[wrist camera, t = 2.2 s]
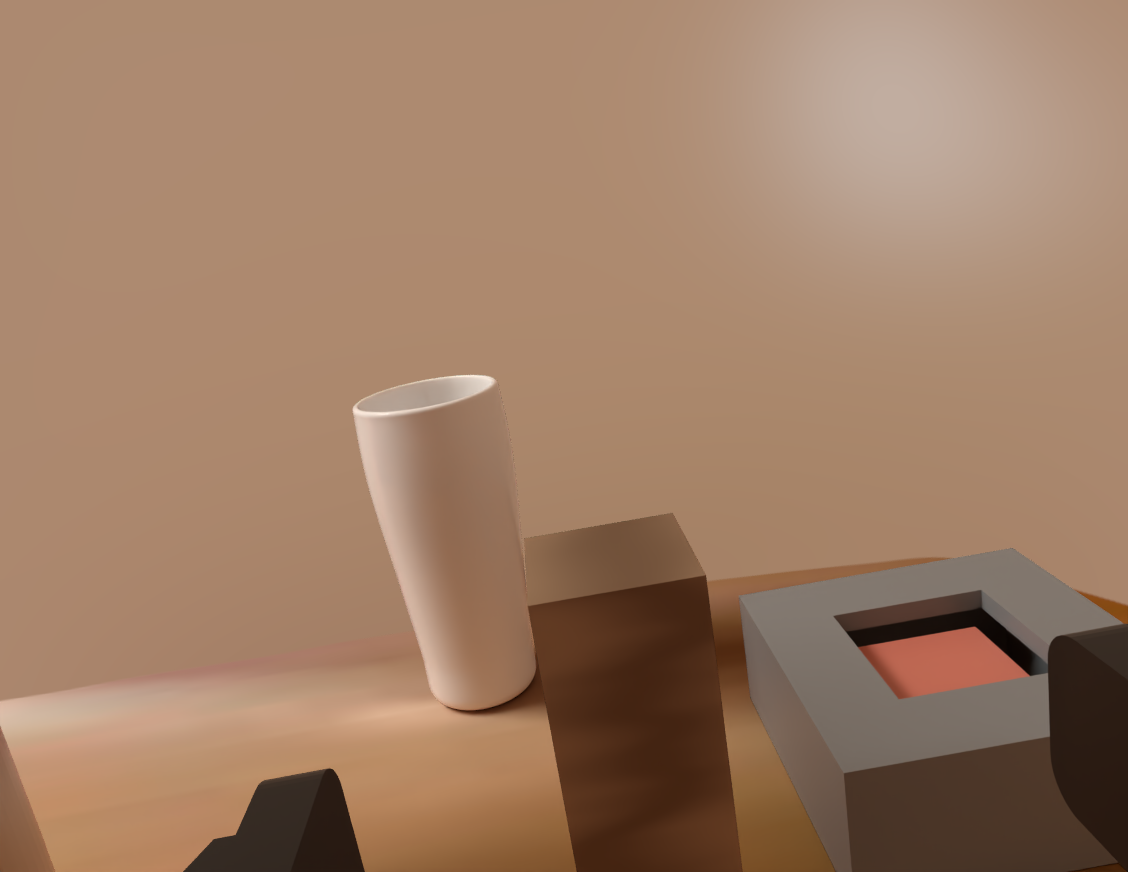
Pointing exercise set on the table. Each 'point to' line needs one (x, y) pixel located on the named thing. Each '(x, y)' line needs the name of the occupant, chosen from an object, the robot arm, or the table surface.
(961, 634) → the button
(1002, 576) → the box
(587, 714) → the tall brown pillar
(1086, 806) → the robot arm
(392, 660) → the table surface
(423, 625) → the drinking glass
